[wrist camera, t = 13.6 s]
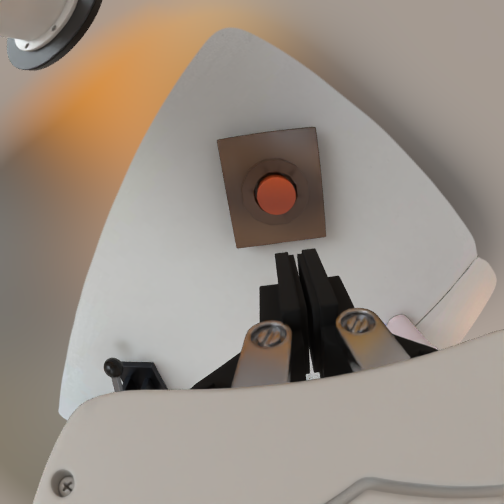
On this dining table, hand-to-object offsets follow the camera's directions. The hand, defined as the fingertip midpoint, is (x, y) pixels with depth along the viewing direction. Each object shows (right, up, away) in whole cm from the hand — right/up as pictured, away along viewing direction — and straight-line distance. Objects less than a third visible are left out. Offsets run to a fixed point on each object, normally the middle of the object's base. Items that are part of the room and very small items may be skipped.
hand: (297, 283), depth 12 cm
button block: (+1, +9, +19) cm, 21 cm away
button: (0, +7, +16) cm, 17 cm away
